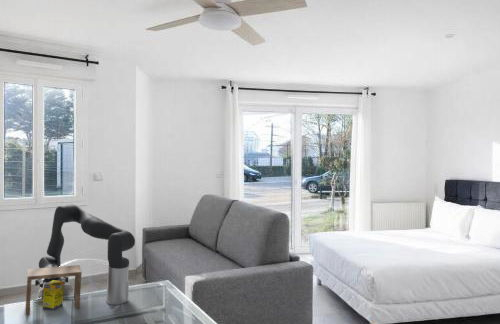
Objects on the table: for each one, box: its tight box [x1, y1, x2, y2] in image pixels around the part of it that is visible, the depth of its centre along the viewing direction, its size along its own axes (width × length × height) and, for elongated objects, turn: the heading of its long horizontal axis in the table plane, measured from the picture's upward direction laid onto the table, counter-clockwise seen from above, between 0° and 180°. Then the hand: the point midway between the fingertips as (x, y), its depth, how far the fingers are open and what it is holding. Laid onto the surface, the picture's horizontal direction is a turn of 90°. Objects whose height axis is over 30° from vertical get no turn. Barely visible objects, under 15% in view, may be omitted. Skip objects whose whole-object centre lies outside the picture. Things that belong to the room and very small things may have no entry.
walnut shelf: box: [25, 264, 82, 316], centre depth 170 cm, size 21×10×16 cm, turn 120°
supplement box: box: [42, 280, 65, 311], centre depth 170 cm, size 6×6×11 cm
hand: (52, 284), depth 178 cm, fingers open, 8 cm apart
